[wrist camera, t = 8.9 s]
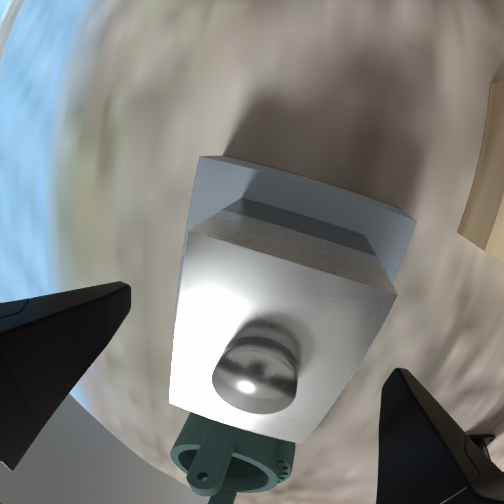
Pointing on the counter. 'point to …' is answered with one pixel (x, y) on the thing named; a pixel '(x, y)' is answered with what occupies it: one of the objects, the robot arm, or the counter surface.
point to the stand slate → (297, 205)
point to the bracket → (229, 459)
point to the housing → (273, 318)
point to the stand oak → (488, 183)
